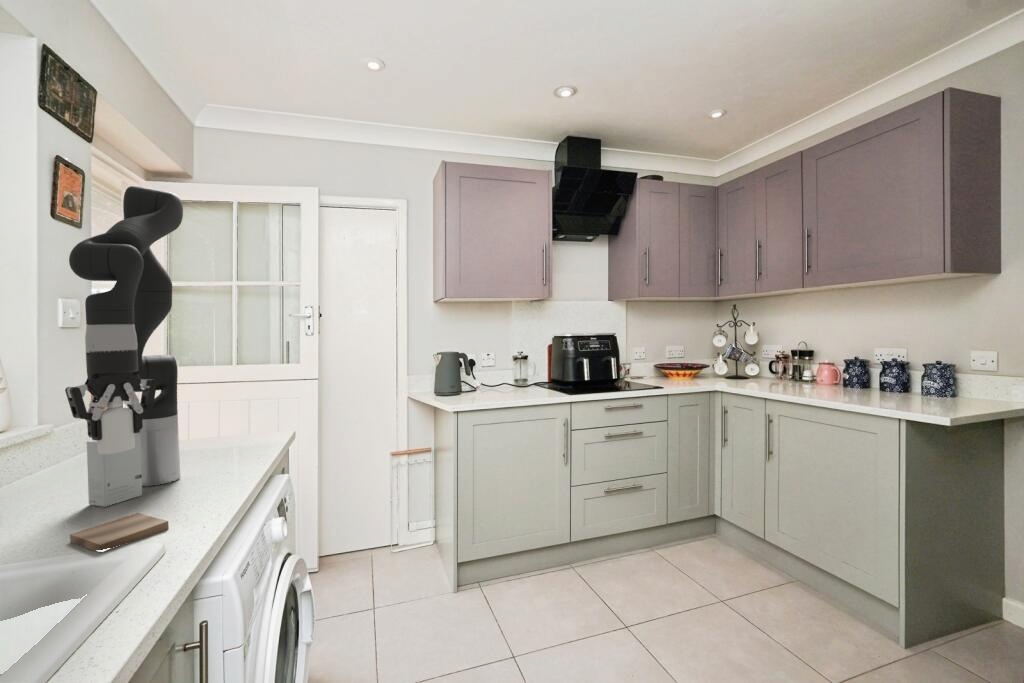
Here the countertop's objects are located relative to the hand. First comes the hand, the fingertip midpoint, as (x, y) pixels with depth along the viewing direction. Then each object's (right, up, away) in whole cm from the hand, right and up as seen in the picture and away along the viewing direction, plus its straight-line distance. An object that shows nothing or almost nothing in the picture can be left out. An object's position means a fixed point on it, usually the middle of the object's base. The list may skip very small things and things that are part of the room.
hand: (116, 435), depth 89 cm
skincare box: (-17, -19, +20) cm, 33 cm away
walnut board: (0, -19, +1) cm, 19 cm away
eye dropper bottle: (0, -3, 0) cm, 3 cm away
